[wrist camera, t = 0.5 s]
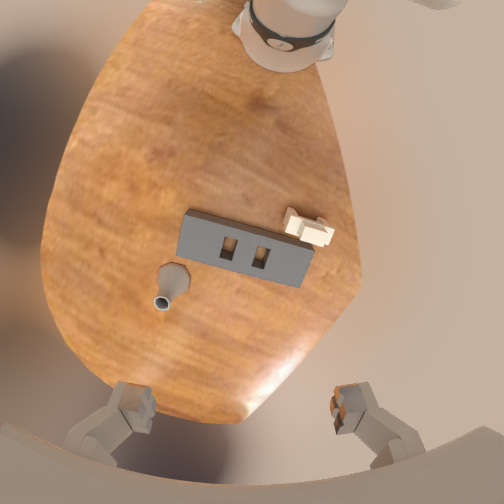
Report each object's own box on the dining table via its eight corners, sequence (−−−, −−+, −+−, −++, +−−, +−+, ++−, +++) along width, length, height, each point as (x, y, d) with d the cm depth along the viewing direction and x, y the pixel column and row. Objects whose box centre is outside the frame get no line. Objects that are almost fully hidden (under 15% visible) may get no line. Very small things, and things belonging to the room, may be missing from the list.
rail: (189, 209, 50) (184, 214, 46) (310, 243, 53) (314, 251, 49) (180, 247, 53) (175, 255, 49) (296, 278, 56) (299, 288, 52)
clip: (285, 206, 50) (293, 220, 41) (325, 218, 51) (340, 235, 42) (280, 221, 51) (287, 238, 43) (319, 233, 52) (333, 252, 43)
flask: (188, 260, 54) (176, 285, 45) (194, 291, 57) (184, 320, 48) (155, 262, 54) (138, 286, 45) (162, 293, 57) (148, 320, 48)
